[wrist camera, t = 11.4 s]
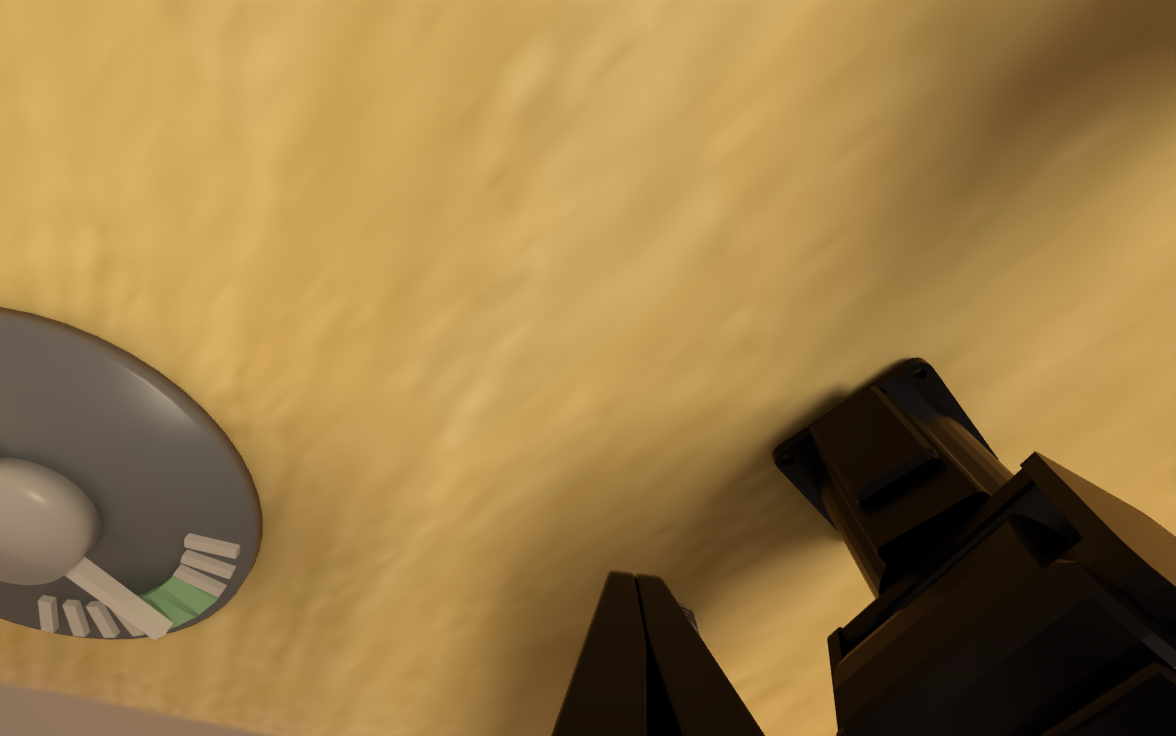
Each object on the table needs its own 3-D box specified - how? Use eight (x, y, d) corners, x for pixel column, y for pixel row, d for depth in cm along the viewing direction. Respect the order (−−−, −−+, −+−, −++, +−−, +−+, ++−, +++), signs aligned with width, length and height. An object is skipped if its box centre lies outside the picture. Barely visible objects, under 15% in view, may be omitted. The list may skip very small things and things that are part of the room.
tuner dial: (340, 498, 24) (330, 516, 23) (143, 669, 29) (128, 691, 28) (-82, 204, 18) (-120, 212, 17) (-236, 481, 23) (-273, 499, 22)
